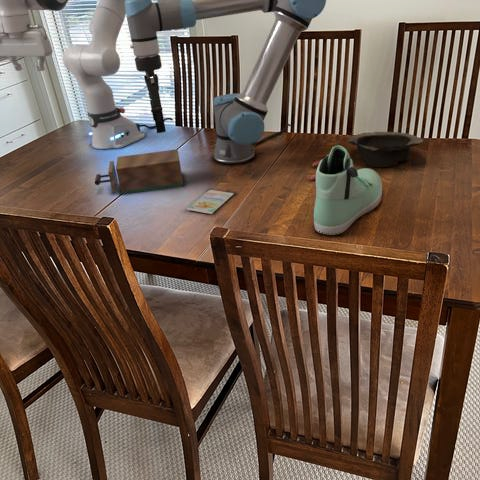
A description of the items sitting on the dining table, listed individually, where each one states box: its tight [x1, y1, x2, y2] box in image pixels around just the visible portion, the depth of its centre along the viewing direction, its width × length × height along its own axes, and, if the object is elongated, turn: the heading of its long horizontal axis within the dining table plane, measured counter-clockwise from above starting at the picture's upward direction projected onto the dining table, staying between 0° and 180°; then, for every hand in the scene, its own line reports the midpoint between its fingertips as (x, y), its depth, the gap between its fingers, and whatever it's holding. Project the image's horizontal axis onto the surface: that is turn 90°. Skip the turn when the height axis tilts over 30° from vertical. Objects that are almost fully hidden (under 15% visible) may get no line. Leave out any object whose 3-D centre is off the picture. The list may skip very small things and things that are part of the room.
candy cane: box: [309, 160, 321, 182], centre depth 162 cm, size 6×15×2 cm, turn 145°
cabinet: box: [115, 148, 184, 195], centre depth 162 cm, size 20×11×9 cm, turn 100°
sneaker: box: [313, 145, 383, 236], centre depth 133 cm, size 14×35×20 cm, turn 152°
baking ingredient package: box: [186, 189, 235, 215], centre depth 148 cm, size 9×1×15 cm
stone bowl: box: [347, 131, 425, 168], centre depth 166 cm, size 25×25×9 cm
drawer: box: [94, 160, 119, 193], centre depth 161 cm, size 24×10×7 cm, turn 100°
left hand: (30, 70), depth 158 cm, fingers open, 8 cm apart
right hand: (159, 125), depth 152 cm, fingers open, 13 cm apart
